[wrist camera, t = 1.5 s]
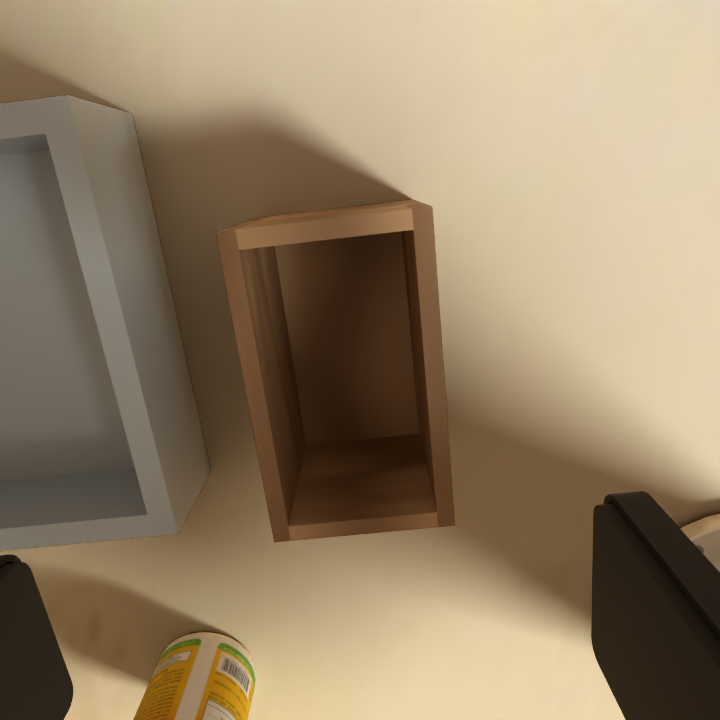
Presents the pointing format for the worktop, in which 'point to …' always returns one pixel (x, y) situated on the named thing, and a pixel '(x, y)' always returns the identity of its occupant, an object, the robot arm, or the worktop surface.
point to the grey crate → (87, 337)
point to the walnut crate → (343, 367)
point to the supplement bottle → (200, 681)
